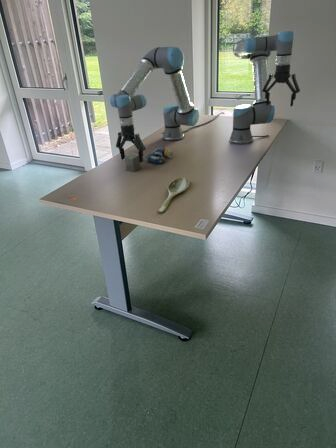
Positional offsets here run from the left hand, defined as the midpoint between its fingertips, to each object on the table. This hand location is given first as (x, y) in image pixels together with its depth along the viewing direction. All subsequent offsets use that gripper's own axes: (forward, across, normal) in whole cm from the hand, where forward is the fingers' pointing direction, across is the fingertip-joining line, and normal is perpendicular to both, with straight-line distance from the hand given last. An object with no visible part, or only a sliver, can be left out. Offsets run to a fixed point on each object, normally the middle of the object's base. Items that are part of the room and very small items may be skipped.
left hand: (132, 160), depth 199 cm
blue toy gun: (+6, +6, +21) cm, 22 cm away
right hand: (-23, +69, +53) cm, 90 cm away
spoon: (+5, +41, -21) cm, 47 cm away
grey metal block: (+5, 0, 0) cm, 5 cm away
